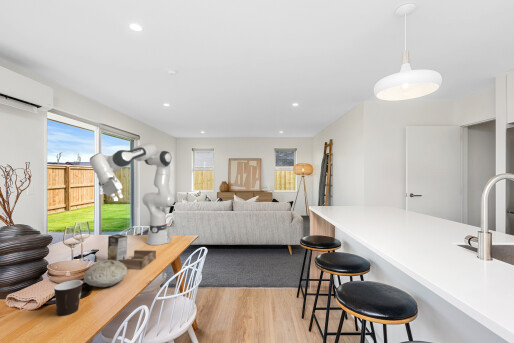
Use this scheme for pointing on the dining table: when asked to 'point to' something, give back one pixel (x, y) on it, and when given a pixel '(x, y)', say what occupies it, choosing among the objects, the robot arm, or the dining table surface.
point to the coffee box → (117, 247)
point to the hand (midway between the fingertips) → (118, 199)
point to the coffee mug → (67, 297)
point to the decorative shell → (105, 273)
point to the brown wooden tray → (139, 264)
